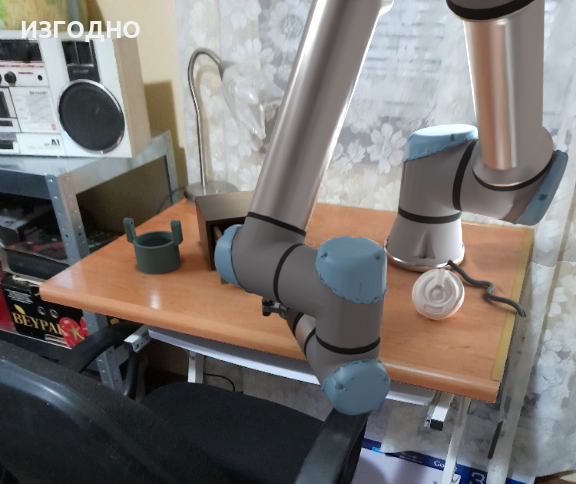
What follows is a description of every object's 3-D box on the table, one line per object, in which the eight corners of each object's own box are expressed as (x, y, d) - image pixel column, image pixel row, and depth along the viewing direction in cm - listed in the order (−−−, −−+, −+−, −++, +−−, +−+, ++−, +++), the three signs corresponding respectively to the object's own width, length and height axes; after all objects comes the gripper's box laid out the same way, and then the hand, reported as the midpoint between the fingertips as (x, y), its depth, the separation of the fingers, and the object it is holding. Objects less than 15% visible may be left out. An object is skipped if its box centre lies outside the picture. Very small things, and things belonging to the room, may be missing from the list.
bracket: (189, 266, 102) (183, 221, 96) (143, 278, 98) (134, 231, 93) (172, 250, 108) (166, 207, 102) (129, 260, 104) (119, 216, 99)
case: (274, 261, 103) (273, 212, 97) (211, 270, 100) (205, 221, 94) (258, 234, 113) (256, 189, 107) (200, 242, 110) (194, 196, 105)
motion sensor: (405, 323, 84) (411, 279, 79) (412, 300, 90) (419, 258, 85) (457, 331, 82) (466, 287, 77) (461, 307, 88) (470, 265, 83)
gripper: (274, 358, 73) (239, 281, 90) (362, 342, 75) (311, 271, 93) (273, 310, 68) (235, 240, 86) (366, 295, 71) (311, 230, 88)
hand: (275, 256), depth 89 cm, fingers closed
